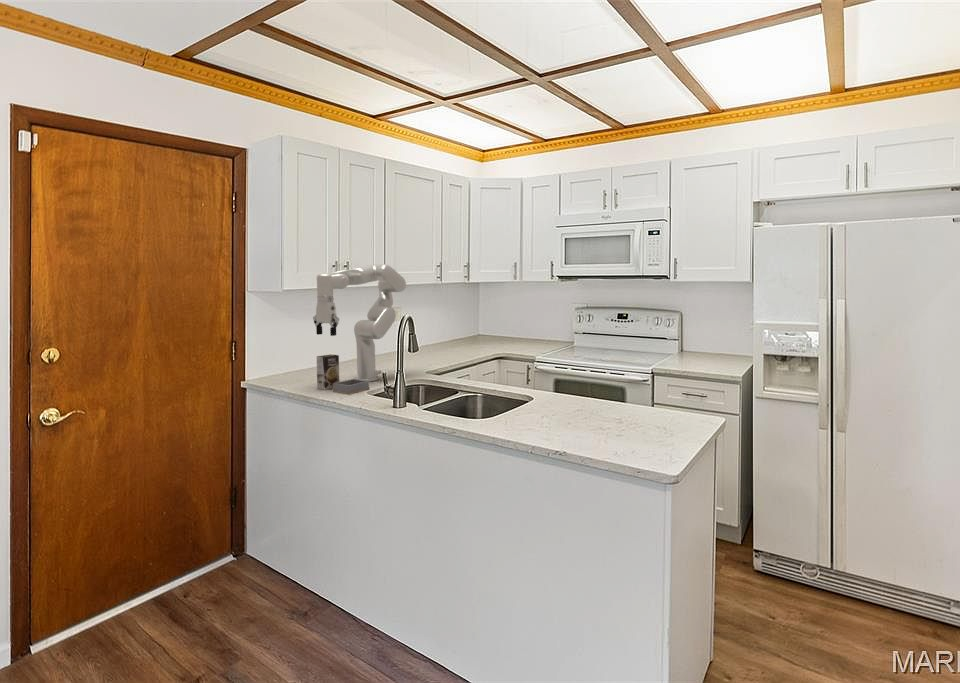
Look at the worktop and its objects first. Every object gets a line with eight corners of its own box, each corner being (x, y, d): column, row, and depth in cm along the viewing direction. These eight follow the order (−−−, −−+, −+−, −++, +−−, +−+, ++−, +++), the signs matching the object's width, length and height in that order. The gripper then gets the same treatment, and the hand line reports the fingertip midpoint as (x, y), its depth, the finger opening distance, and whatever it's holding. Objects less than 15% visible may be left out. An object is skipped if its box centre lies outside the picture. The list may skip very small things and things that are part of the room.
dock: (353, 386, 282) (353, 378, 281) (369, 389, 276) (369, 381, 275) (332, 391, 270) (332, 383, 270) (349, 394, 265) (349, 386, 264)
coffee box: (325, 390, 274) (324, 357, 272) (316, 388, 278) (315, 356, 276) (340, 387, 281) (339, 354, 279) (332, 385, 285) (330, 353, 283)
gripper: (343, 300, 272) (344, 335, 274) (319, 298, 282) (320, 333, 284) (332, 300, 266) (333, 336, 268) (307, 299, 275) (308, 334, 277)
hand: (326, 334), depth 276 cm, fingers open, 9 cm apart
